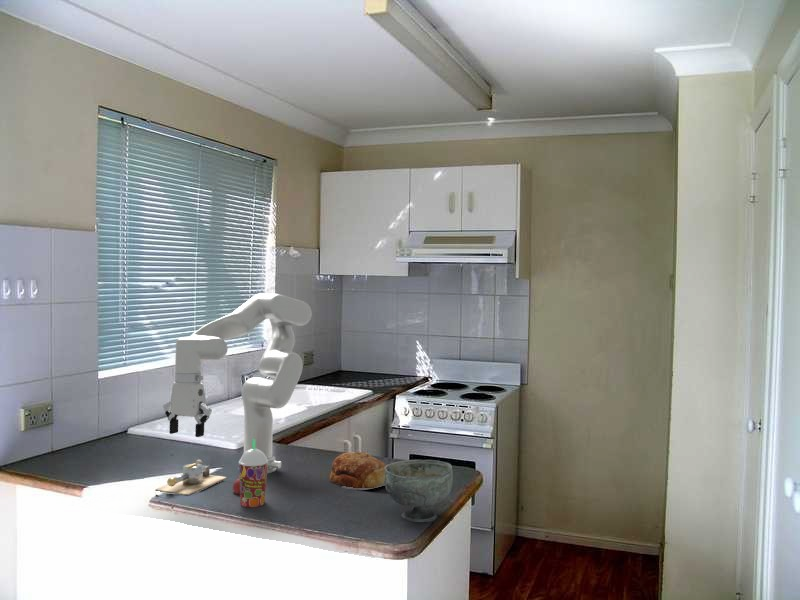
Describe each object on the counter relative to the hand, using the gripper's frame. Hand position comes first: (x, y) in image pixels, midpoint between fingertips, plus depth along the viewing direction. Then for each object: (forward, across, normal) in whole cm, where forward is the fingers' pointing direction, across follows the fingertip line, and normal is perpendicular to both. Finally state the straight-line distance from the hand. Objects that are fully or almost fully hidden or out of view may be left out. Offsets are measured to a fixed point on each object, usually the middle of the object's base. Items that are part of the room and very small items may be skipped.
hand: (186, 434), depth 206 cm
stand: (+19, +3, -7) cm, 20 cm away
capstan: (+17, +3, -7) cm, 18 cm away
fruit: (+19, -16, -8) cm, 26 cm away
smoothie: (+19, -24, 0) cm, 31 cm away
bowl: (+19, -71, -12) cm, 74 cm away
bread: (+19, -43, -36) cm, 59 cm away
